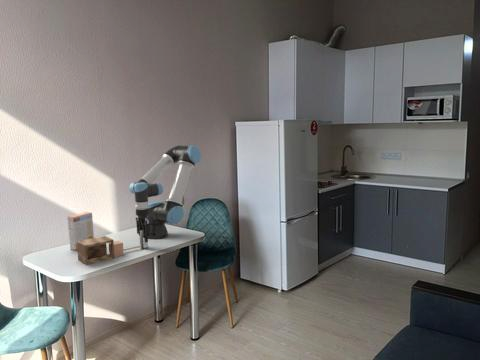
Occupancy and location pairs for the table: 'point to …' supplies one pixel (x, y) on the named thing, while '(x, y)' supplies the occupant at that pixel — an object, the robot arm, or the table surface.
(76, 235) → the cracker box
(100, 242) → the cubby
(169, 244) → the table surface
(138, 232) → the robot arm
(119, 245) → the u-shaped stand
